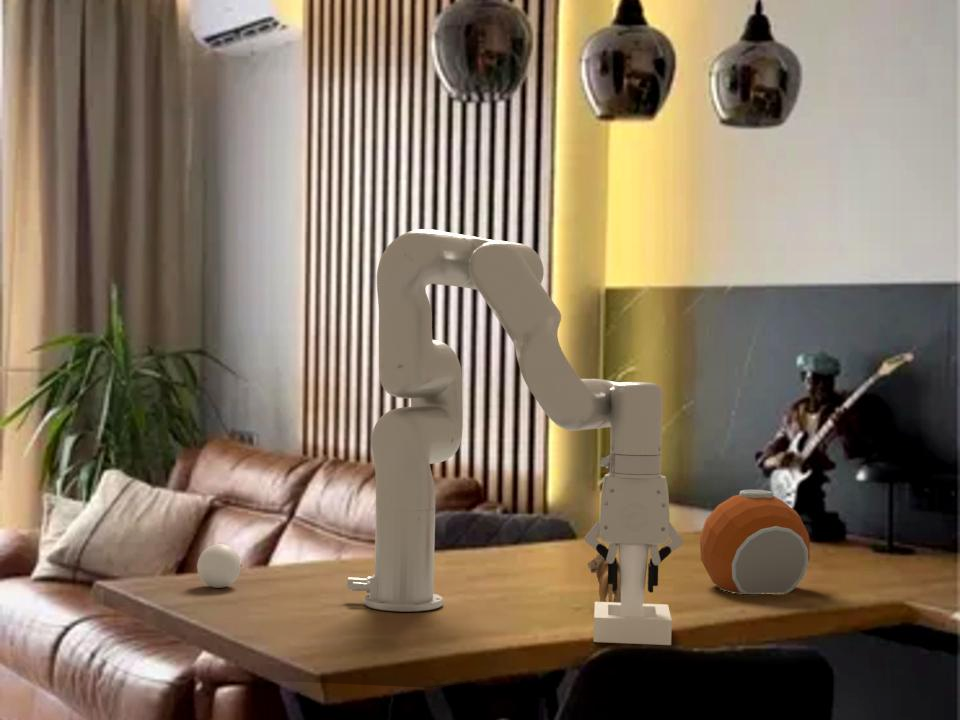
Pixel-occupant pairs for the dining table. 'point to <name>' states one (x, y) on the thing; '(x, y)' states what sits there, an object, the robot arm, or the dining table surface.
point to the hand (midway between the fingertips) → (632, 588)
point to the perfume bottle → (632, 578)
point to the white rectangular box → (632, 624)
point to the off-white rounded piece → (219, 565)
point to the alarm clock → (755, 544)
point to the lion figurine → (605, 579)
